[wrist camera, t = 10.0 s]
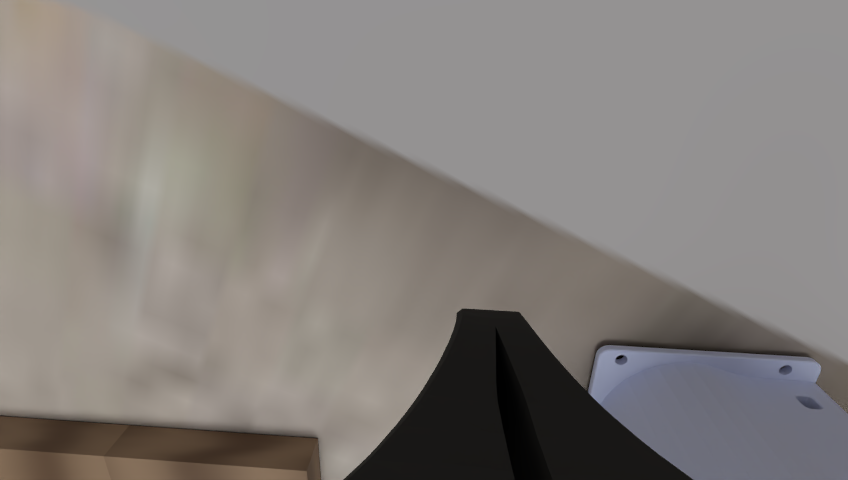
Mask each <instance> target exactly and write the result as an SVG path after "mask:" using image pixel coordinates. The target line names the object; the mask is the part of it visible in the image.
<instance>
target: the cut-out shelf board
mask: <svg viewBox="0 0 848 480" xmlns="http://www.w3.org/2000/svg"><path fill="white" fill-rule="evenodd" d="M0 480H321V476H320V462H319V449H318V439H317V438H302V437H288V436H274V435H260V434H246V433H232V432H217V431H203V430H189V429H175V428H161V427H146V426H132V425H118V424H104V423H90V422H75V421H61V420H47V419H33V418H19V417H4V416H0Z"/></svg>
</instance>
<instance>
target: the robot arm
mask: <svg viewBox="0 0 848 480" xmlns="http://www.w3.org/2000/svg"><path fill="white" fill-rule="evenodd" d="M619 355H624V357H623V358H621V359H616V357H618V356H619ZM783 366H785V367H784V368H782V369H780V368H781V367H783ZM820 372H821V366H820V364H819V363H817V362H816V361H815V360H814V359H813V358H809V357H797V356H781V355H764V354H748V353H732V352H715V351H699V350H682V349H666V348H649V347H633V346H616V345H605V346H603V347H601V348H600V349H598V351H597V353H596V356H595V361H594V366H593V370H592V375H591V380H590V384H589V389H588V392H587V391H586V390H585V389H584V388H583V387H582V386H581V385H580V384H579V383H578V382H577V381H576V380H575V379H574V378H573V377H572V376H571V374H570V373H569V372H568V371H567V370H566V369H565V368H564V366H563V365H562V364H561V363H560V362H559V361H558V360H557V358H556V357H555V356H554V355H553V354H552V353H551V351H550V350H549V349H548V348H547V347H546V345H545V344H544V343H543V342H542V340H541V339H540V338H539V337H538V335H537V334H536V333H535V331H534V330H533V329H532V328H531V326H530V325H529V324H528V322H527V321H526V320H525V319H524V317H523V316H522V315H521V314H520V313H519V312H511V311H494V310H477V309H461V310H460V311H459V312H457V318H456V324H455V327H454V330H453V333H452V335H451V338H450V340H449V343H448V345H447V347H446V349H445V351H444V353H443V355H442V357H441V359H440V361H439V363H438V365H437V367H436V368H435V370H434V372H433V373H432V375H431V377H430V378H429V380H428V382H427V383H426V385H425V386H424V388H423V390H422V391H421V393H420V394H419V396H418V397H417V398H416V400H415V401H414V403H413V404H412V405H411V407H410V408H409V409H408V411H407V412H406V413H405V415H404V416H403V417H402V419H401V420H400V421H399V422H398V424H397V425H396V426H395V427H394V428H393V429H392V430H391V432H390V433H389V434H388V435H387V436H386V437H385V439H384V440H383V441H382V442H381V443H380V444H379V445H378V446H377V448H376V449H375V450H374V451H373V452H372V453H371V454H370V455H369V456H368V457H367V458H366V459H365V460H364V461H363V462H362V463H361V464H360V465H359V466H358V467H357V468H356V469H354V470H353V471H352V472H351V473H350V474H349V475H348V476H347V477H346V478H345V479H344V480H848V414H847V413H846V412H845V411H844V410H843V409H842V408H841V407H840V406H839V405H838V404H837V403H836V402H835V401H834V400H833V399H832V398H831V397H829V396H828V395H827V394H826V393H825V392H824V391H823V390H822V389H821V388H820V387H819V386H818V385H817V384H816V381H817V378H818V376H819V374H820Z"/></svg>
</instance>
